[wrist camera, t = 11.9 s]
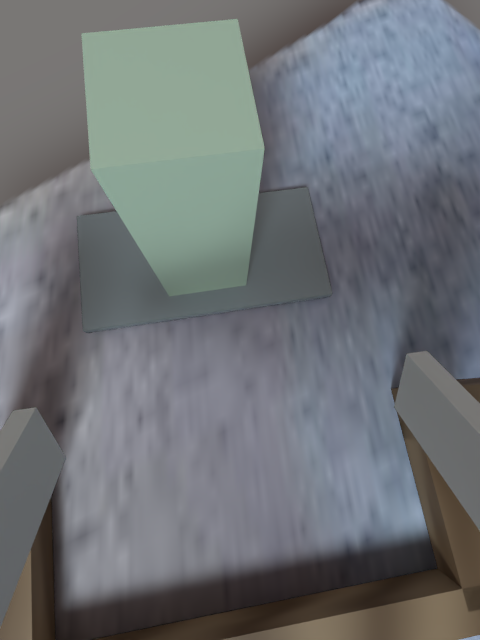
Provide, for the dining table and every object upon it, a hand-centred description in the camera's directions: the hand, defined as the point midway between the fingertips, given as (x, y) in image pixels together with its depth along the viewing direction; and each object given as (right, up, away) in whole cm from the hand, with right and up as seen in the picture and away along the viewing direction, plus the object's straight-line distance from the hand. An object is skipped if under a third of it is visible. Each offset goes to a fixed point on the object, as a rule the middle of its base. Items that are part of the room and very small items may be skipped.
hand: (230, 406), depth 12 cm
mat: (-2, +7, +10) cm, 13 cm away
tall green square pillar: (-2, +7, +10) cm, 12 cm away
